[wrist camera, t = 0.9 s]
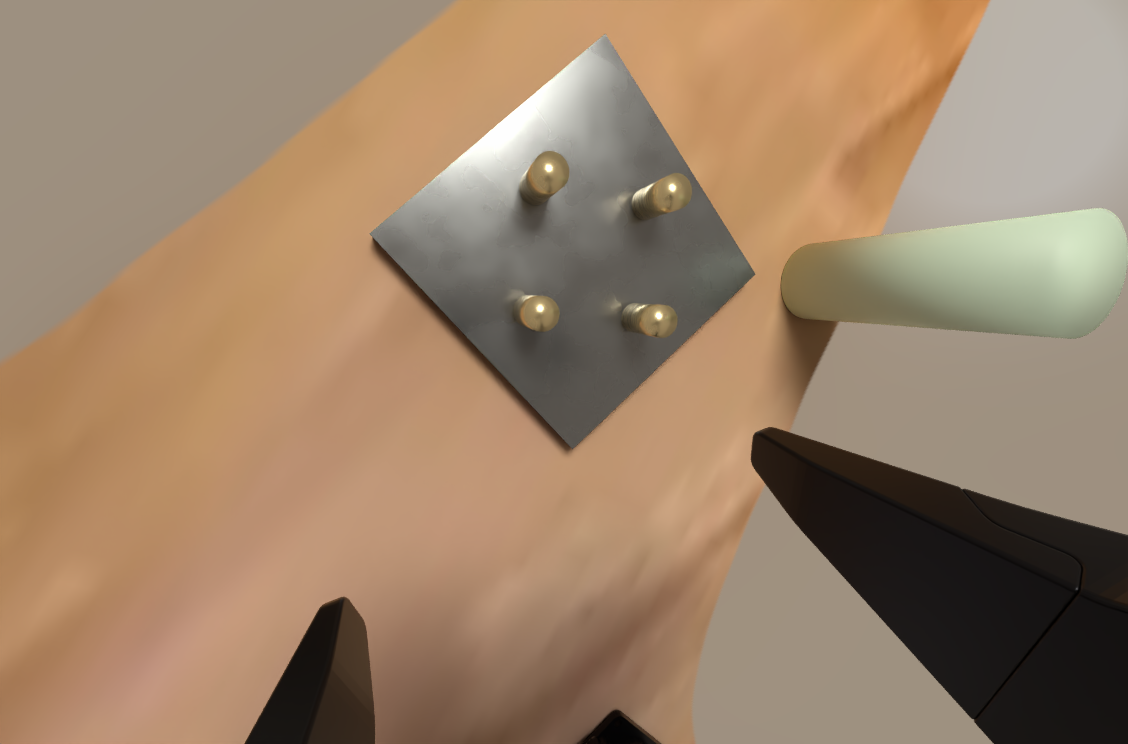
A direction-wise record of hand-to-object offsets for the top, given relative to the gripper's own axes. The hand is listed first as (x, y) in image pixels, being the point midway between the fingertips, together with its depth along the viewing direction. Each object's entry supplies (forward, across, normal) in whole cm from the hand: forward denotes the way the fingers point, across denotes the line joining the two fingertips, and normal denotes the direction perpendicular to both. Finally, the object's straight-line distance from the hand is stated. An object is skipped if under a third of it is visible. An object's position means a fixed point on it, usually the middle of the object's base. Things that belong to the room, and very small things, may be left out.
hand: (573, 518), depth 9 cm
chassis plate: (+15, -6, 0) cm, 16 cm away
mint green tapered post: (+13, -20, +4) cm, 25 cm away
